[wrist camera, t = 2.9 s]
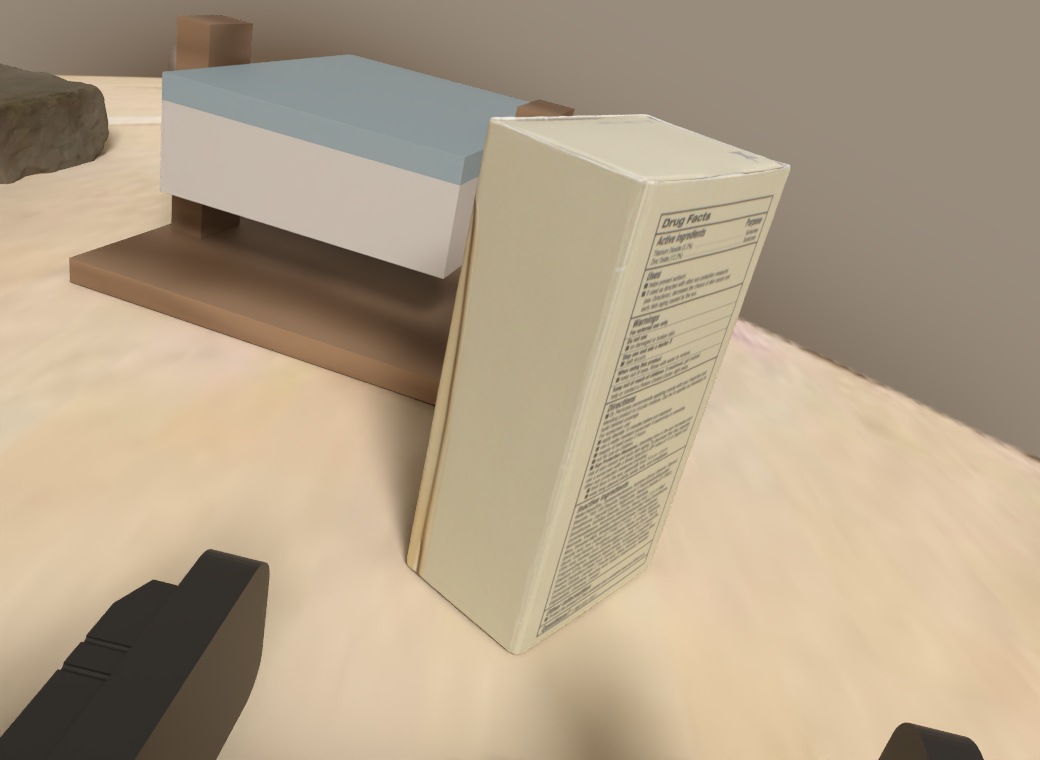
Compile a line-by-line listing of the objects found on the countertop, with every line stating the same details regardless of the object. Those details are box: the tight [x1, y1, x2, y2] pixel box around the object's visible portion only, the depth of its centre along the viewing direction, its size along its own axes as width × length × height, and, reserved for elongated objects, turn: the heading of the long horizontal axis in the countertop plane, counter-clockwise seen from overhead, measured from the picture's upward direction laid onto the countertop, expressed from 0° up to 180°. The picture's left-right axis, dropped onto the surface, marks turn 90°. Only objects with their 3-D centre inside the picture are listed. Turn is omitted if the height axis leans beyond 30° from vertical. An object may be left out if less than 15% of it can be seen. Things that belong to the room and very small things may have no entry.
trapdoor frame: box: [69, 15, 574, 405], centre depth 39 cm, size 19×18×10 cm
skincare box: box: [406, 114, 790, 655], centre depth 22 cm, size 6×4×12 cm
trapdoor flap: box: [160, 55, 530, 279], centre depth 38 cm, size 15×12×4 cm
